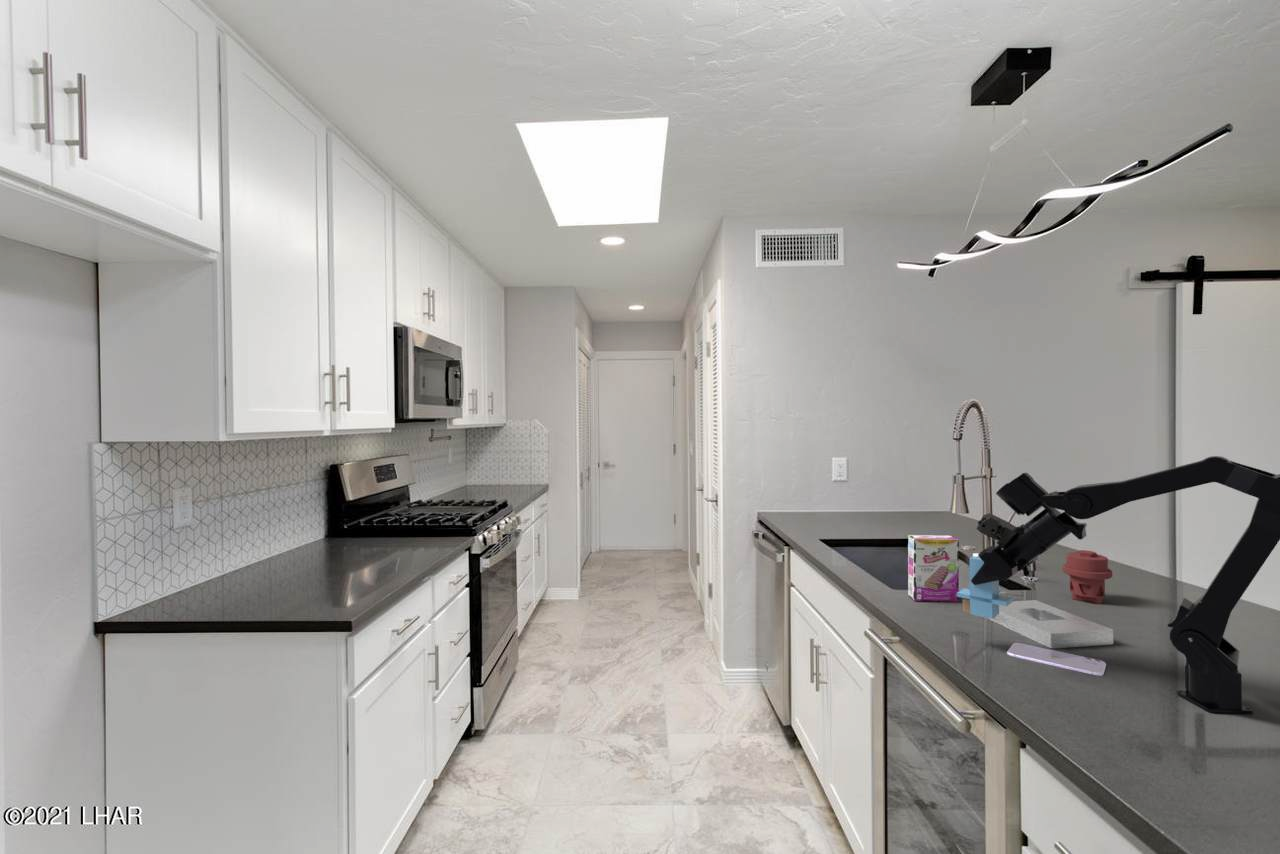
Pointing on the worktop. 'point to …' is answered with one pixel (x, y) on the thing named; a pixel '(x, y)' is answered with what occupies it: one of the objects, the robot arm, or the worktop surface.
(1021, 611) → the plate
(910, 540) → the candy bar box
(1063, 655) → the mobile phone
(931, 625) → the worktop surface
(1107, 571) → the mechanical component
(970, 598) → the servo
